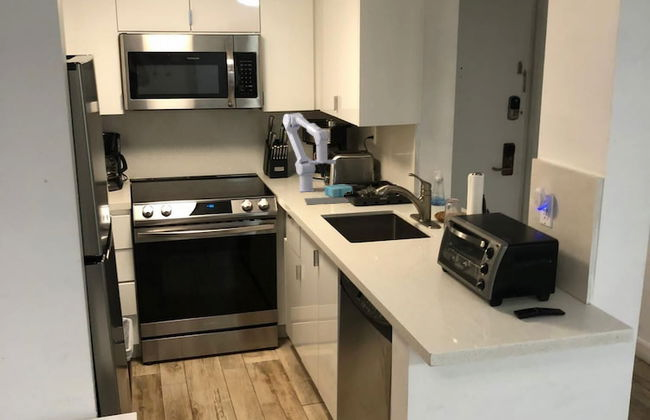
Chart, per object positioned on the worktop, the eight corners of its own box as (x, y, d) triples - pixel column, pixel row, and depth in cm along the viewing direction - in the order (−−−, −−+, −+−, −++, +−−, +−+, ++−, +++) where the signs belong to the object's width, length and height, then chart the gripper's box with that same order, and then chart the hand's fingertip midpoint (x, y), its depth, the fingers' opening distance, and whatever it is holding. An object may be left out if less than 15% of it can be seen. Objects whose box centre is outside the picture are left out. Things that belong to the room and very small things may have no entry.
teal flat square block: (333, 197, 352) (353, 195, 357) (332, 189, 351) (353, 187, 356) (324, 194, 363) (344, 191, 368) (323, 186, 362) (343, 183, 367)
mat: (304, 199, 353) (304, 198, 353) (345, 196, 355) (345, 196, 355) (306, 204, 339) (306, 204, 339) (349, 202, 342) (349, 202, 342)
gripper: (309, 154, 353) (310, 179, 357) (336, 153, 355) (336, 178, 358) (307, 152, 360) (308, 177, 363) (334, 151, 362) (335, 175, 365)
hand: (322, 177), depth 361 cm, fingers closed
